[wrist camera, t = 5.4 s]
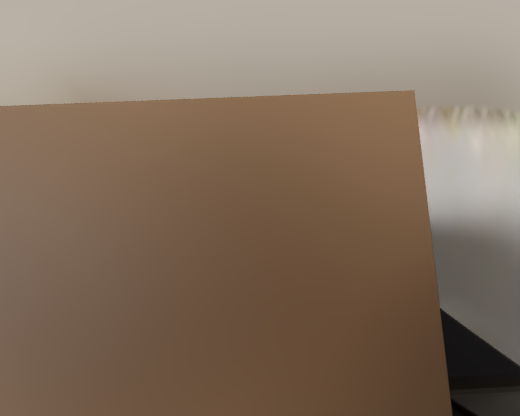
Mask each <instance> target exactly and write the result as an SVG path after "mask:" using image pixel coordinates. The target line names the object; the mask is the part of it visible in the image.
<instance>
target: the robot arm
mask: <svg viewBox="0 0 520 416" xmlns="http://www.w3.org/2000/svg"><path fill="white" fill-rule="evenodd" d="M440 314H441V322H442V331H443V339H444V348H445V356H446V365H447V373H448V382H449V390H450V399H451V407H452V416H520V366H519V365H517V364H516V363H515V362H513V361H512V360H510V359H509V358H508V357H506V356H505V355H504V354H502V353H501V352H499V351H498V350H497V349H495V348H494V347H492V346H491V345H490V344H488V343H487V342H485V341H484V340H483V339H481V338H480V337H479V336H477V335H476V334H474V333H473V332H472V331H470V330H469V329H467V328H466V327H465V326H463V325H462V324H461V323H459V322H458V321H457V320H455V319H454V318H453V317H451V316H450V315H449V314H447V313H446V312H445V311H444V310H442V309H441V308H440Z"/></svg>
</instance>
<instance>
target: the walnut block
mask: <svg viewBox="0 0 520 416" xmlns="http://www.w3.org/2000/svg"><path fill="white" fill-rule="evenodd" d="M0 416H452V407H451V399H450V390H449V382H448V373H447V365H446V356H445V348H444V339H443V331H442V322H441V314H440V305H439V297H438V288H437V280H436V271H435V263H434V254H433V246H432V237H431V229H430V220H429V212H428V203H427V195H426V186H425V178H424V169H423V161H422V152H421V144H420V135H419V127H418V118H417V110H416V102H415V93H414V91H390V92H361V93H339V94H338V93H337V94H309V95H283V96H257V97H230V98H206V99H205V98H204V99H179V100H153V101H125V102H100V103H74V104H47V105H20V106H0Z"/></svg>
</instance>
